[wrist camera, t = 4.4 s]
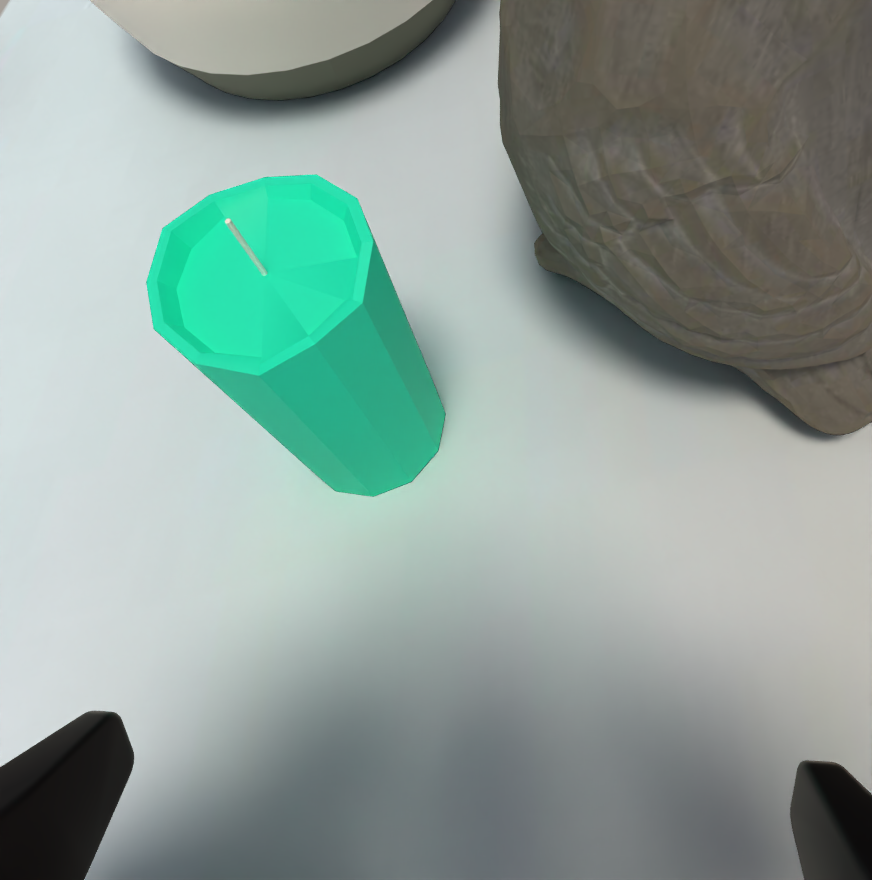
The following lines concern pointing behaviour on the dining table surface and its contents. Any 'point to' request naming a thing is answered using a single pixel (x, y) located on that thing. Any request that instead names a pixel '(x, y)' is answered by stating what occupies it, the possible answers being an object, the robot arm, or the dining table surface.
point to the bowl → (279, 39)
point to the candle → (300, 328)
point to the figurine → (708, 177)
